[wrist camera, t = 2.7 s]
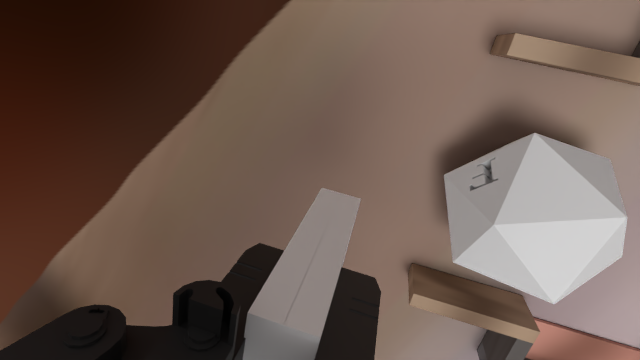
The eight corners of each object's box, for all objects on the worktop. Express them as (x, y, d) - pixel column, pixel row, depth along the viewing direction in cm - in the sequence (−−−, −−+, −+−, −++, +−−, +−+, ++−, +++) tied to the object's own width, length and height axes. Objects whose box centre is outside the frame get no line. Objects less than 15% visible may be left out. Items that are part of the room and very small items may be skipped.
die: (591, 113, 20) (545, 92, 14) (672, 255, 18) (664, 309, 12) (466, 170, 26) (391, 174, 19) (516, 283, 24) (451, 331, 17)
